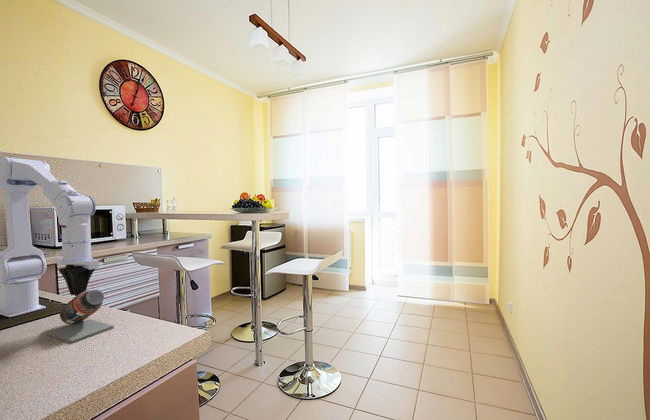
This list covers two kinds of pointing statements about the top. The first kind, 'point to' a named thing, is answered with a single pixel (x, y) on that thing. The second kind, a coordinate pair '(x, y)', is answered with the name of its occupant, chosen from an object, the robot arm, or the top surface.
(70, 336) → the mat
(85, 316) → the supplement bottle
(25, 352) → the top surface
